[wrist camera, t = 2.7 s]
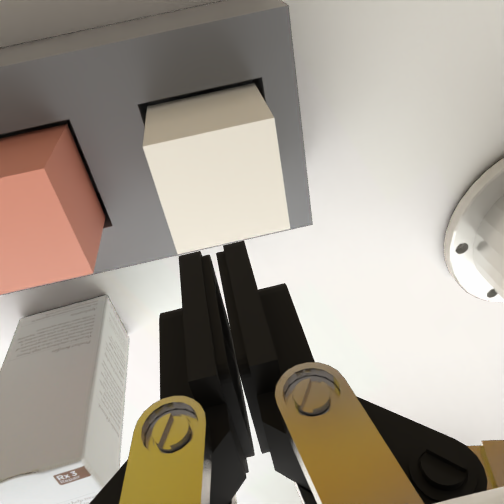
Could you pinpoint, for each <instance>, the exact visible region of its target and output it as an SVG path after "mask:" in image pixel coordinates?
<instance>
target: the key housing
mask: <svg viewBox="0 0 504 504" xmlns="http://www.w3.org/2000/svg"><path fill="white" fill-rule="evenodd" d="M252 83H255V85H256V87H257V88H258V90H259V92H260V94H261V95H262V97H263V99H264V101H265V102H266V104H267V106H268V107H269V109H270V111H271V113H272V114H273V116H274V119H275V126H276V132H277V139H278V146H279V153H280V160H281V167H282V174H283V181H284V188H285V195H286V202H287V209H288V216H289V222H290V229H288V230H291V229H296V228H300V227H304V226H309V225H313V223H312V214H311V205H310V196H309V187H308V178H307V169H306V160H305V151H304V142H303V133H302V124H301V115H300V106H299V97H298V88H297V79H296V70H295V61H294V52H293V43H292V34H291V25H290V16H289V7H288V5H287V4H286V3H284V2H282V1H281V0H224V1H219V2H214V3H210V4H205V5H200V6H195V7H191V8H186V9H181V10H177V11H172V12H167V13H163V14H158V15H153V16H149V17H144V18H139V19H135V20H130V21H125V22H120V23H116V24H111V25H106V26H102V27H97V28H92V29H88V30H83V31H78V32H74V33H69V34H64V35H60V36H55V37H50V38H45V39H41V40H36V41H31V42H27V43H22V44H17V45H13V46H8V47H3V48H0V138H4V137H9V136H14V135H18V134H23V133H27V132H32V131H36V130H41V129H46V128H50V127H55V126H59V125H64V124H67V125H68V127H69V129H70V132H71V134H72V137H73V139H74V142H75V144H76V146H77V149H78V151H79V154H80V156H81V158H82V161H83V163H84V166H85V168H86V171H87V173H88V175H89V178H90V180H91V183H92V185H93V188H94V190H95V192H96V195H97V197H98V200H99V202H100V205H101V207H102V209H103V212H104V214H105V222H104V226H103V231H102V236H101V240H100V245H99V250H98V254H97V259H96V263H95V268H94V273H93V274H97V273H101V272H106V271H110V270H115V269H119V268H123V267H128V266H132V265H137V264H141V263H146V262H150V261H154V260H159V259H163V258H168V257H172V256H176V255H181V254H177V251H176V248H175V245H174V242H173V239H172V236H171V233H170V229H169V226H168V223H167V220H166V217H165V214H164V211H163V208H162V205H161V202H160V199H159V196H158V193H157V189H156V186H155V183H154V180H153V177H152V174H151V171H150V168H149V165H148V162H147V159H146V156H145V153H144V149H143V139H144V130H145V121H146V112H147V106H151V105H156V104H160V103H165V102H169V101H174V100H179V99H183V98H188V97H192V96H197V95H201V94H206V93H211V92H215V91H220V90H224V89H229V88H234V87H238V86H243V85H247V84H252ZM283 231H287V230H283ZM279 232H282V231H279ZM274 233H278V232H274ZM270 234H273V233H270ZM266 235H269V234H266ZM261 236H265V235H261ZM257 237H260V236H257ZM252 238H256V237H252ZM248 239H251V238H248ZM243 240H247V239H243ZM243 240H239V241H243ZM235 242H238V241H235ZM230 243H234V242H230ZM226 244H229V243H226ZM221 245H225V244H221ZM221 245H217V246H221ZM213 247H216V246H213ZM208 248H212V247H208ZM204 249H207V248H204ZM199 250H203V249H199ZM195 251H198V250H195ZM191 252H194V251H191ZM186 253H190V252H186ZM182 254H185V253H182ZM93 274H89V275H93ZM85 276H88V275H85ZM80 277H84V276H80ZM76 278H79V277H76ZM71 279H75V278H71ZM71 279H67V280H71ZM63 281H66V280H63ZM58 282H62V281H58ZM54 283H57V282H54ZM49 284H53V283H49ZM45 285H48V284H45ZM40 286H44V285H40ZM40 286H36V287H40ZM32 288H35V287H32ZM27 289H31V288H27ZM23 290H26V289H23ZM18 291H22V290H18ZM18 291H14V292H18ZM10 293H13V292H10ZM5 294H9V293H5ZM1 295H4V294H1Z"/></svg>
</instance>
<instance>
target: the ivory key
mask: <svg viewBox="0 0 504 504" xmlns="http://www.w3.org/2000/svg"><path fill="white" fill-rule="evenodd" d="M143 149H144V153H145V156H146V159H147V162H148V165H149V168H150V171H151V174H152V177H153V180H154V183H155V186H156V189H157V193H158V196H159V199H160V202H161V205H162V208H163V211H164V214H165V217H166V220H167V223H168V226H169V229H170V233H171V236H172V239H173V242H174V245H175V248H176V251H177V254H182V253H186V252H191V251H195V250H199V249H204V248H208V247H213V246H217V245H221V244H226V243H230V242H235V241H239V240H243V239H248V238H252V237H257V236H261V235H266V234H270V233H274V232H279V231H283V230H288V229H290V222H289V216H288V209H287V202H286V195H285V188H284V181H283V174H282V167H281V160H280V153H279V146H278V139H277V132H276V126H275V119H274V116H273V114H272V113H271V111H270V109H269V107H268V106H267V104H266V102H265V101H264V99H263V97H262V95H261V94H260V92H259V90H258V88H257V87H256V85H255V83H252V84H247V85H243V86H238V87H234V88H229V89H224V90H220V91H215V92H211V93H206V94H201V95H197V96H192V97H188V98H183V99H179V100H174V101H169V102H165V103H160V104H156V105H151V106H147V112H146V121H145V130H144V139H143Z"/></svg>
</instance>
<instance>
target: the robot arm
mask: <svg viewBox="0 0 504 504" xmlns="http://www.w3.org/2000/svg"><path fill="white" fill-rule="evenodd" d="M223 247H224V251H223V252H219V253H216V255H217V260H218V266H219V271H220V276H221V282H222V287H223V292H224V297H225V303H226V308H227V313H228V319H229V322H228V319H227V315H226V311H225V308H224V304H223V300H222V297H221V293H220V290H219V286H218V282H217V279H216V275H215V272H214V268H213V264H212V261H211V257H210V255H206V256H202V255H201V252H200V251H198V252H194V253H190V254H186V255H181V256H179V267H180V281H181V295H182V308H181V309H177V310H173V311H169V312H165V313H161V314H160V318H159V333H160V400H159V401H158V402H156V403H154V404H152V405H151V406H150V407H149V408H148V409H147V410H145V411H144V412H143V414H142V415H141V417H140V418H139V420H138V421H137V424H136V426H135V429H134V432H133V437H132V442H131V447H130V452H129V457H128V460H127V461H126V462H125V463H124V464H123V466H122V467H121V468H120V469H119V470H118V471H117V472H116V474H115V475H114V476H113V477H112V478H111V479H110V480H109V482H108V483H107V484H106V485H105V486H104V487H103V488H102V490H101V491H100V492H99V493H98V494H97V495H96V496H95V498H94V499H93V500H92V501H91V502H90V503H89V504H237V500H236V492H237V491H238V489H239V488H240V486H241V485H242V483H243V482H244V480H245V479H246V473H248V472H249V471H248V465H247V459H246V458H247V457H251V456H254V455H255V454H254V448H253V443H252V438H251V432H250V427H249V422H248V416H247V411H246V406H245V401H244V395H243V390H242V385H243V388H244V392H245V395H246V399H247V402H248V406H249V410H250V413H251V417H252V420H253V424H254V427H255V431H256V434H257V438H258V441H259V445H260V448H261V452H262V453H266V452H270V453H271V457H272V460H273V464H274V468H275V471H277V472H279V473H281V474H282V475H284V476H286V477H287V478H289V479H291V480H293V481H294V483H295V487H296V490H297V492H298V495H299V497H300V499H301V502H302V504H504V440H488V441H481V446H466V445H464V444H462V443H461V442H459V441H457V440H456V439H454V438H451V437H449V436H447V435H444V434H442V433H440V432H437V431H435V430H433V429H430V428H428V427H426V426H424V425H421V424H419V423H417V422H414V421H412V420H410V419H407V418H405V417H403V416H400V415H398V414H396V413H394V412H391V411H389V410H387V409H384V408H382V407H380V406H377V405H375V404H373V403H370V402H368V401H366V400H363V399H361V398H359V397H357V396H355V394H354V392H353V391H352V389H351V388H350V386H349V384H348V383H347V381H346V380H345V378H344V377H343V376H342V375H341V374H340V373H339V371H338V370H336V369H334V368H332V367H331V366H329V365H326V364H322V363H318V362H314V359H313V356H312V353H311V351H310V348H309V345H308V343H307V340H306V337H305V334H304V332H303V329H302V326H301V323H300V321H299V318H298V315H297V313H296V310H295V307H294V304H293V302H292V299H291V296H290V294H289V291H288V288H287V286H286V284H285V283H284V284H280V285H276V286H272V287H267V288H263V289H259V290H258V289H257V285H256V282H255V278H254V275H253V271H252V268H251V264H250V261H249V257H248V254H247V250H246V246H245V243H244V241H240V242H236V243H232V244H228V245H223ZM444 257H445V262H446V265H447V268H448V271H449V273H450V274H451V275H452V277H453V278H454V279H455V281H456V282H457V283H458V284H459V285H460V286H461V287H462V288H463V289H464V290H465V291H466V292H467V293H469V294H471V295H472V296H474V297H476V298H479V299H482V300H485V301H493V302H504V158H502V159H501V160H500V161H498V162H497V163H496V164H494V165H493V166H492V167H491V168H489V169H488V170H487V171H486V172H485V173H484V174H483V175H482V176H481V177H480V178H479V179H478V180H477V181H476V182H475V183H474V184H473V185H472V186H471V187H470V188H469V190H468V191H467V192H466V194H465V195H464V196H463V198H462V199H461V200H460V202H459V204H458V205H457V207H456V209H455V211H454V213H453V215H452V216H451V219H450V222H449V225H448V227H447V230H446V234H445V241H444ZM229 324H230V326H229ZM230 329H231V330H230ZM240 378H241V380H240ZM241 381H242V385H241Z"/></svg>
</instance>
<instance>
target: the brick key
mask: <svg viewBox="0 0 504 504" xmlns="http://www.w3.org/2000/svg"><path fill="white" fill-rule="evenodd" d="M104 222H105V214H104V212H103V209H102V207H101V205H100V202H99V200H98V197H97V195H96V192H95V190H94V188H93V185H92V183H91V180H90V178H89V175H88V173H87V171H86V168H85V166H84V163H83V161H82V158H81V156H80V154H79V151H78V149H77V146H76V144H75V142H74V139H73V137H72V134H71V132H70V129H69V127H68V125H67V124H64V125H59V126H55V127H50V128H46V129H41V130H36V131H32V132H27V133H23V134H18V135H14V136H9V137H4V138H0V295H1V294H5V293H10V292H14V291H18V290H23V289H27V288H32V287H36V286H40V285H45V284H49V283H54V282H58V281H63V280H67V279H71V278H76V277H80V276H85V275H89V274H93V273H94V268H95V263H96V259H97V254H98V250H99V245H100V240H101V236H102V231H103V226H104Z"/></svg>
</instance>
